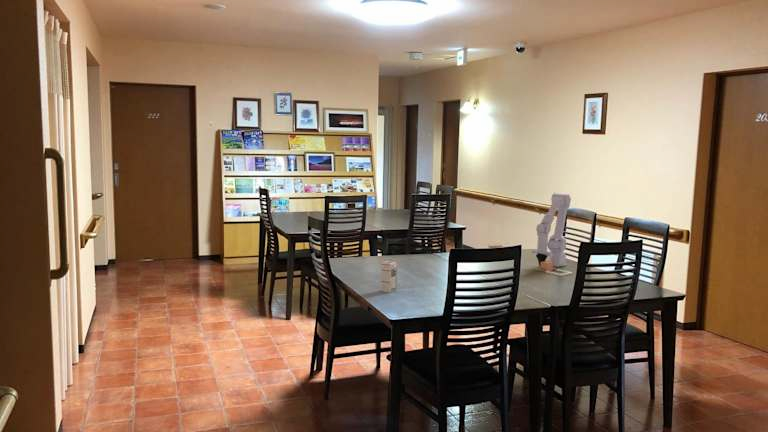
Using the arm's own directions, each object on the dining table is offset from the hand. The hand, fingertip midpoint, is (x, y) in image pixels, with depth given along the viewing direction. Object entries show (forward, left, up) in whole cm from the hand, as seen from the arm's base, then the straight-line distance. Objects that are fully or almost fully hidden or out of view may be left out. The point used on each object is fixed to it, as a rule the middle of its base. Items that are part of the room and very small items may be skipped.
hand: (541, 266), depth 372 cm
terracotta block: (0, +4, -2) cm, 4 cm away
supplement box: (+19, -19, -2) cm, 27 cm away
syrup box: (+111, 0, -2) cm, 111 cm away
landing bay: (0, +13, -2) cm, 13 cm away
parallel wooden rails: (0, +3, -2) cm, 3 cm away
